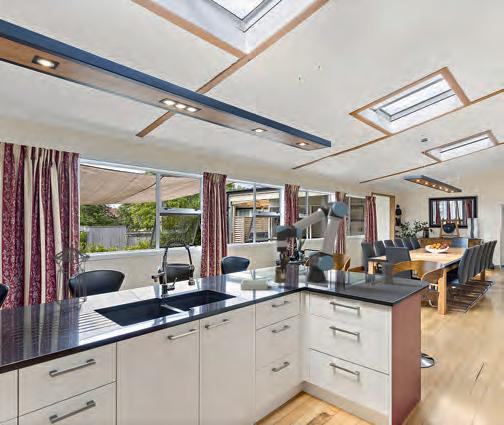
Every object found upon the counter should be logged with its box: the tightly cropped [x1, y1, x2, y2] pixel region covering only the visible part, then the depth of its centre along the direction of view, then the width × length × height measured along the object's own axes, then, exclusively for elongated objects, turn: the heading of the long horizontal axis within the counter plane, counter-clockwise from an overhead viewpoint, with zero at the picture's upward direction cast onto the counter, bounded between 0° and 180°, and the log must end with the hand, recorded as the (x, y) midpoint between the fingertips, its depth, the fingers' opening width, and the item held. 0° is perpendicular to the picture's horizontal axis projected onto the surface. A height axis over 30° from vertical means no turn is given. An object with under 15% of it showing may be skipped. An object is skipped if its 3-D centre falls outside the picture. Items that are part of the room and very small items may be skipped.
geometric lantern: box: [50, 246, 91, 312], centre depth 179 cm, size 16×16×35 cm
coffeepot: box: [375, 259, 397, 285], centre depth 247 cm, size 15×9×18 cm, turn 44°
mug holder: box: [240, 279, 269, 291], centre depth 234 cm, size 19×14×4 cm
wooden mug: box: [273, 256, 291, 284], centre depth 239 cm, size 9×14×18 cm, turn 123°
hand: (282, 277), depth 238 cm, fingers closed on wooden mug, 7 cm apart
